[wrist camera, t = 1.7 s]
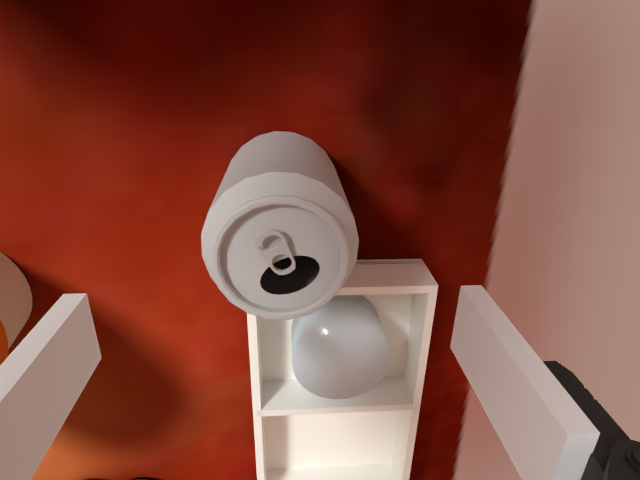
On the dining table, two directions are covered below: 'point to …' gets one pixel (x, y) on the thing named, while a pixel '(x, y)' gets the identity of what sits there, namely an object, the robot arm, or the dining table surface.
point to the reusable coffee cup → (12, 304)
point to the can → (280, 229)
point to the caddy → (352, 413)
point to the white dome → (340, 348)
